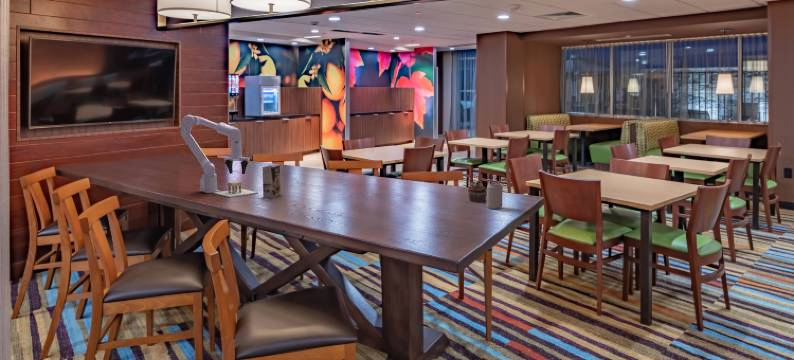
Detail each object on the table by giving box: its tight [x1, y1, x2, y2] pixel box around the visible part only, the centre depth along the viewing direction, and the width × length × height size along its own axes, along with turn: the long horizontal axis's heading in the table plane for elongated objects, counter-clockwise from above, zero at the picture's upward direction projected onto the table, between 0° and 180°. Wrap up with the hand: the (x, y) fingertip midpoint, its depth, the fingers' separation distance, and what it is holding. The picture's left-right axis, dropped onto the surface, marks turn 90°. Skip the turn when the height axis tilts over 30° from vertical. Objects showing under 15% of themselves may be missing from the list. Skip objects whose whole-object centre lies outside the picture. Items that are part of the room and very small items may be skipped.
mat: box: [213, 188, 259, 199], centre depth 306 cm, size 17×17×1 cm
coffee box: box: [262, 164, 281, 198], centre depth 297 cm, size 9×6×16 cm
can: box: [485, 182, 504, 210], centre depth 268 cm, size 8×8×12 cm
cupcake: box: [467, 180, 487, 203], centre depth 286 cm, size 10×10×10 cm
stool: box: [226, 180, 243, 194], centre depth 305 cm, size 5×5×6 cm
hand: (237, 173), depth 315 cm, fingers open, 7 cm apart
